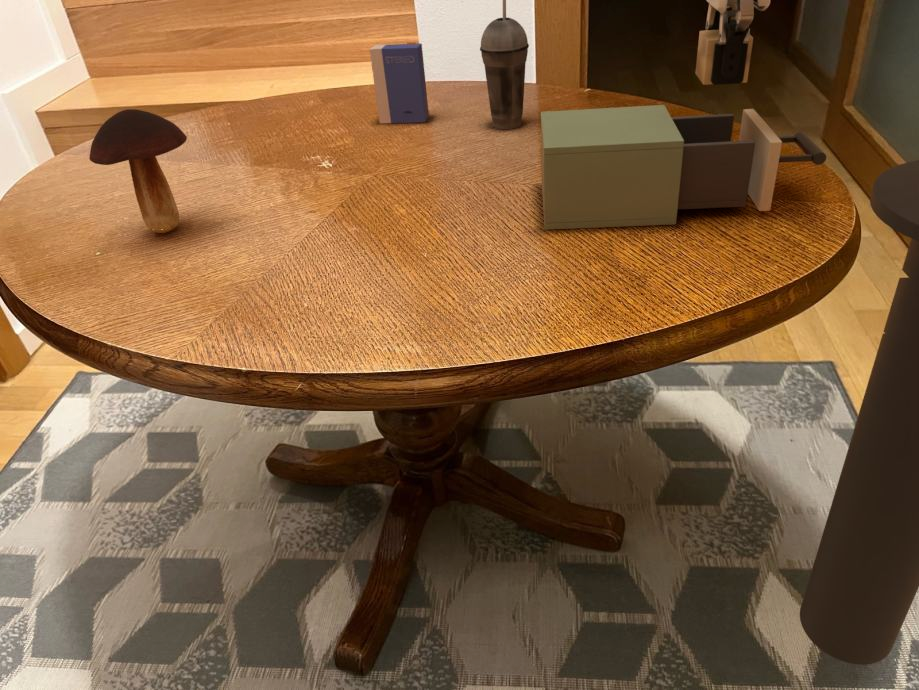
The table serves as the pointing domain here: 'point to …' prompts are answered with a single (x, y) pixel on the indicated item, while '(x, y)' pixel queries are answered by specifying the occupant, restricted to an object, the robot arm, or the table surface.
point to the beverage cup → (505, 69)
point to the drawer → (733, 160)
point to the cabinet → (610, 167)
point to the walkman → (400, 83)
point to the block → (707, 53)
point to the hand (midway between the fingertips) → (721, 74)
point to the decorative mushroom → (142, 160)
